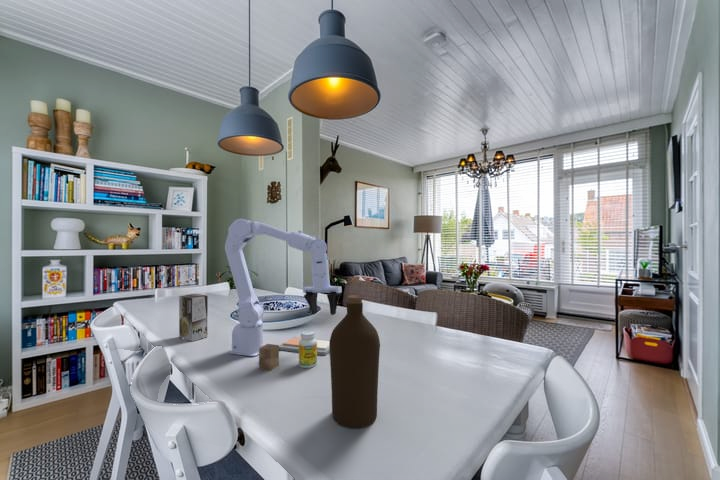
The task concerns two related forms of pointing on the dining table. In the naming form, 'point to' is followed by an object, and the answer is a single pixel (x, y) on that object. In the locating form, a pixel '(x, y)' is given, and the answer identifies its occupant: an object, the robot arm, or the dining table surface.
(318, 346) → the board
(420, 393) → the dining table surface
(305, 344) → the supplement bottle
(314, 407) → the dining table surface
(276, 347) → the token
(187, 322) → the coffee box
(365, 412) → the olive oil
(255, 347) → the robot arm
